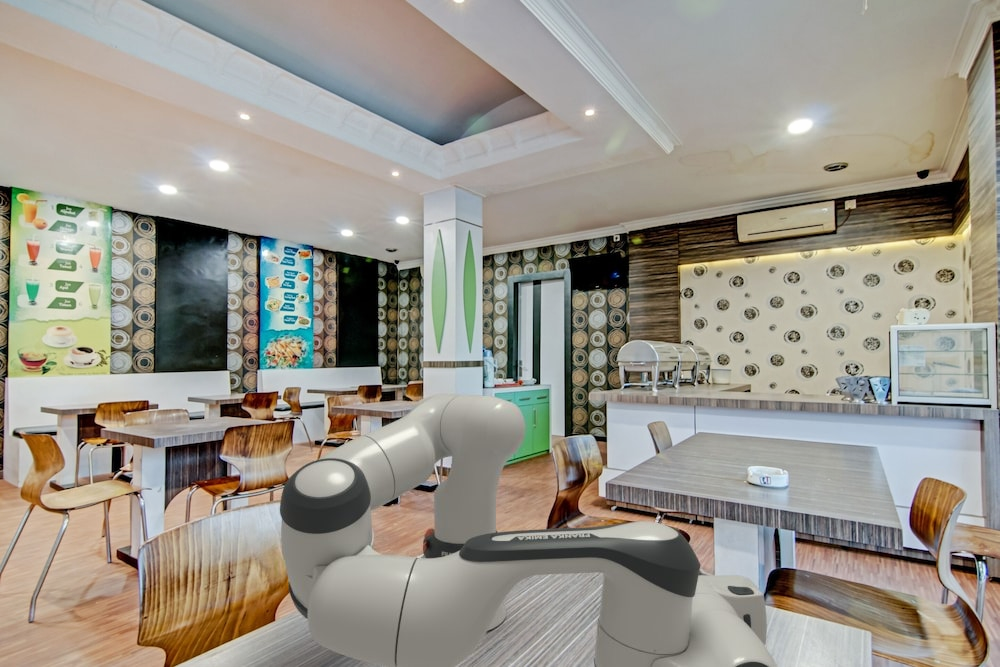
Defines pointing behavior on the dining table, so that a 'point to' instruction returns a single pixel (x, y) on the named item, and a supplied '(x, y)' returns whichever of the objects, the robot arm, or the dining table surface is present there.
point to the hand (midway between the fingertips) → (665, 573)
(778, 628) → the dining table surface
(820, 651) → the dining table surface
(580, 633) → the dining table surface
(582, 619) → the dining table surface
